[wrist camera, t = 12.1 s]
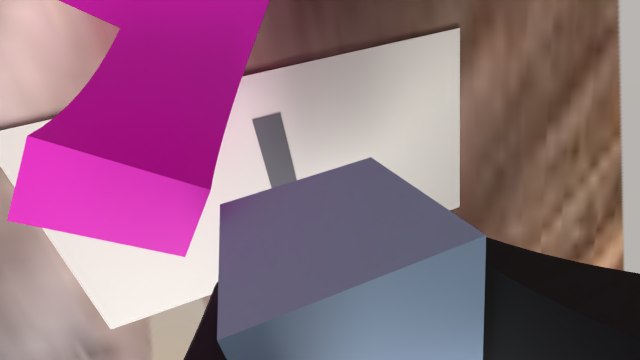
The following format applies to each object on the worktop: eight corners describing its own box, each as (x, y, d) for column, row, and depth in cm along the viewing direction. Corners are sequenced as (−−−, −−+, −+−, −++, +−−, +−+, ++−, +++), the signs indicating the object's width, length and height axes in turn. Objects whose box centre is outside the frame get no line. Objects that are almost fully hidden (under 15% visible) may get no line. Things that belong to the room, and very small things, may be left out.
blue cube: (387, 272, 12) (482, 395, 8) (265, 320, 11) (293, 490, 7) (370, 157, 10) (486, 235, 6) (220, 204, 9) (217, 340, 5)
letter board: (457, 205, 21) (460, 207, 21) (111, 326, 17) (110, 330, 17) (457, 28, 16) (460, 27, 16) (-17, 134, 12) (-22, 135, 12)
